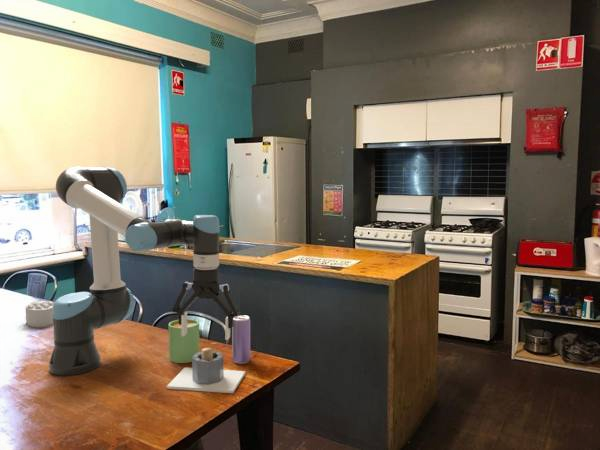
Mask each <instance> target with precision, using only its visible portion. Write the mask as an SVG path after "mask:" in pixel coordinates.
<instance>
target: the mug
mask: <svg viewBox="0 0 600 450" xmlns="http://www.w3.org/2000/svg"><path fill="white" fill-rule="evenodd" d="M200 335H201V332H200V321H199V320H197V319H192V318H187V334H186V335H185V336H181V325H179V319H175V320H172V321H170V322H168V359H169V361H170V362H171V363H175V364H187V363H192V357H193V356H194V355H195V354H196V353H199V352H200Z"/></svg>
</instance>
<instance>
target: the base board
mask: <svg viewBox="0 0 600 450" xmlns="http://www.w3.org/2000/svg"><path fill="white" fill-rule="evenodd" d="M245 375H246V371H245V370H233V369H224V377H223V378H222V380H221V381H220V382H217V383H214V384H210V385H205V384H197V383H196V382H195V381H193V378H192V367H185V366H184V367H183V369H182V370H181V371H180V372H178V374H177V375H176V376H175V377H174V378H172V380H171V381H170V382H169V383H168V384H167V385H166V389H168V390H181V391H194V392H197V391H198V392H208V393H209V392H211V393H223V394H234V393H235V391H236V390H237V388H238V386H239V385H240V383H241V382H242V380H243V379H244V377H245Z"/></svg>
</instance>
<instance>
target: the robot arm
mask: <svg viewBox="0 0 600 450" xmlns="http://www.w3.org/2000/svg"><path fill="white" fill-rule="evenodd" d="M55 182H56V183H55V191H56V194H57V196H58V198H59V199H60V200H62V202H63V203H64V204H65V205H67V206H69V207H71V208H72V209H80V210H82V211H83V212H85V213H87V214H88V217H89V228H90V242H91V243H90V245H91V257H92V270H93V272H92V273H93V283H92V284H91V285H90V286H89V291H79V292H71V293H67V294H65V295H61V296H59V297H58V298H57V299H56V300H55V301H54V302H53V313H52V316H53V324H52V326H53V341H54V346H53V351H52V353H51V356H50V360H49V363H48V369H49V372H50V373H51V374H53V375H57V376H75V375H81V374H84V373H89V372H91V371H93V370H95V369H97V368H98V367H100V366H101V364H102V363H101V355H100V352H99V350H98V347H97V344H96V342H95V333H94V332H95V330H97V329H101V328H104V327H107V326H111V325H115V324H118V323H121V322H122V321H125V320H127V319H128V318H129V317H130V316H131V315H132V313H133V311H134V308H135V299H134V294H132V290H131V289H129V288H128V287H127V284H126V283H125V282H124V281H123V280H122V279H121V276H122V275H121V265H120V264H121V263H120V248H119V234H120V235H121V236H123V237H124V238H125V239H124V240H125V244H126V245H128V248H129V249H130V250H132V251H134V252H147V251H151V250H157V249H162V248H169V247H175V246H180V245H181V246H189V247H190V246H191V247H193V248H192V250H193V251H192V252H193V255H192V258H193V259H192V260H193V261H192V263H193V267H194V268H193V269H192V271H193V273H192V275H193V276H192V278H193V279H192V280H193V282H190V281H188V280H187V281H185V282H183V283H182V289H181V291H180V293H179V295H178V298H177V300H176V301H175V304H174V306H173V307H172V309H171V311H172V312H173V313H177V315H178V320H179V325H181V336H185V335H186V334H187V319H188V312H186V311H187V309H188V308H190V306H191V305H192V304H193V303H194V302H195V301H196V300H197V298H198V299H202V300H203V299H205V300H211V299H212V300H213V301H214V302H216V305H218V306H219V307H220V309H221V310H222V311H223V312H224V314H225V316H226V317H225V318H224V319H225V321H224V322H225V324H224V326H225V327H224V328H225V330H224V335H225V336H224V340H226V341H228V340H229V339H230V338H231V329H232V327H233V323H234V317H236V316H239V315H241V314H240V313H241V311H240V309H239V308H238V305H237V303H236V301H235V299H234V296H233V294H232V292H231V287H230V283H226V284H220V268H219V266H220V232H221V230H220V229H221V228H220V220H219V217H218V216H217V215H214V214H209V215H208V214H196V215H194V217H193V219H192V220H187V219H180V218H168V219H166V220H165V221H155V222H154V221H150V220H149V219H147V218H145V217H143V216H141V215H140V214H138V213H136V212H135V211H133V210H131V209H130V208H128V207H126V206H125V205H123V204H122V203H121V201H122V200H124V199H125V197H126V195H127V192H128V186H127V181H126V178H125V177H124V175H123V174H122V173H121V172H120V171H119V170H118V169H116V168H113V167H106V166H101V167H100V166H96V167H95V166H73V167H70V168H67V169H65V170H63V171H62V172H61V173H60V174H59V175H58V177H57V179H56V181H55ZM191 289H192V291H194V293H193V294H192V295H191V296H190V298H188V300H187V301H186V302H185V303H184V305H182V304H183V301H184V300H185V298H186V296H187V294H188V292H189V290H191ZM219 291H221V292H222V293H223V295H224V297H225V299H226V301H225V300H224V299H223V298H222V296H221V294H220V293H219ZM226 302H227V303H228V304H227V303H226ZM181 305H182V307H181Z"/></svg>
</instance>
